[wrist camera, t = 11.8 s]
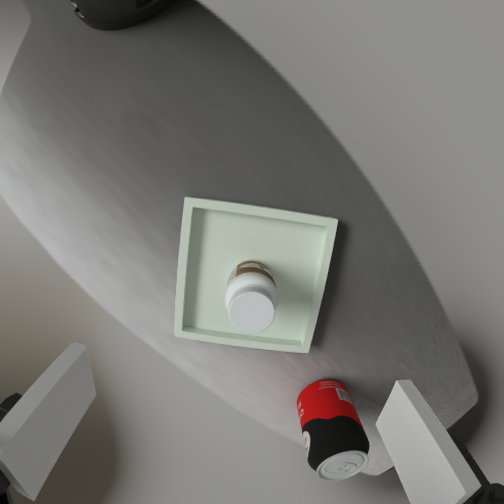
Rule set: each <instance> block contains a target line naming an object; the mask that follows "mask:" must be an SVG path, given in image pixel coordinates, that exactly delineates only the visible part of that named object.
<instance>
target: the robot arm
mask: <svg viewBox="0 0 504 504" xmlns="http://www.w3.org/2000/svg"><path fill="white" fill-rule="evenodd" d="M175 1H176V0H71V3H72V7H73V10H74V12H75V14H76V15H77V16H78V17H79V18H80V19H81V20H82V21H83V22H84V23H86V24H87V25H88V26H90V27H92V28H95V29H100V30H114V29H120V28H125V27H128V26H132V25H135V24H137V23H140V22H142V21H145V20H147V19H149V18H151V17H153V16H155V15H156V14H158V13H160V12H161V11H163V10H164V9H166V8H167V7H169V6H170V5H171V4H173V3H174V2H175ZM95 396H96V391H95V386H94V381H93V376H92V370H91V365H90V359H89V352H88V346H85V345H81V344H78V343H75V342H72V344H70V345H69V346H68V348H67V349H66V350H65V351H64V352H63V353H62V354H61V355H60V356H59V357H58V358H57V359H56V360H55V361H54V362H53V363H52V364H51V365H50V366H49V368H48V369H47V370H46V371H45V372H44V373H43V374H42V375H41V376H40V377H39V378H38V380H37V381H36V382H35V383H34V384H33V385H32V386H31V387H30V389H29V390H28V391H27V392H26V393H25V394H24V395H23V396H22V395H20V394H18V393H15V394H14V395H11V396H10V397H8V398H6V399H5V400H4V401H3V402H2V403H1V405H0V504H13V501H12V498H11V493H10V491H9V489H8V487H9V485H10V483H11V484H12V486H13V487H14V488H15V489H16V490H17V491H18V492H19V493H21V494H23V495H24V496H26V497H28V498H29V499H31V500H33V501H34V500H35V499H36V497H37V495H38V493H39V491H40V489H41V487H42V485H43V484H44V482H45V480H46V478H47V476H48V474H49V473H50V471H51V469H52V468H53V466H54V464H55V462H56V460H57V459H58V457H59V455H60V454H61V452H62V450H63V448H64V447H65V445H66V443H67V442H68V440H69V438H70V437H71V435H72V433H73V432H74V430H75V428H76V427H77V425H78V423H79V422H80V420H81V418H82V417H83V415H84V414H85V412H86V410H87V409H88V407H89V405H90V404H91V402H92V401H93V399H94V398H95ZM375 424H376V427H377V429H378V431H379V433H380V435H381V437H382V440H383V442H384V444H385V446H386V448H387V451H388V453H389V455H390V457H391V459H392V462H393V464H394V466H395V468H396V471H397V473H398V475H399V477H400V480H401V482H402V484H403V487H404V489H405V491H406V494H407V496H408V498H409V501H410V503H411V504H504V486H503V485H501V484H498V483H494V484H490V483H489V481H488V480H487V479H486V477H485V475H484V474H483V472H482V471H481V469H480V468H479V466H478V465H477V463H476V462H475V460H474V459H473V457H472V456H471V454H470V453H468V450H467V448H466V447H465V445H464V444H463V443H462V442H461V441H460V440H459V439H457V438H456V437H455V436H452V437H450V436H449V434H448V433H447V431H446V430H445V428H444V427H443V425H442V424H441V422H440V421H439V420H438V418H437V417H436V415H435V414H434V412H433V411H432V409H431V408H430V407H429V405H428V404H427V402H426V401H425V399H424V398H423V397H422V395H421V394H420V392H419V391H418V390H417V388H416V387H415V385H414V384H413V383H412V381H411V380H397V381H396V383H395V385H394V387H393V389H392V392H391V394H390V396H389V398H388V400H387V402H386V404H385V406H384V408H383V410H382V412H381V414H380V416H379V418H378V420H377V422H376V423H375Z"/></svg>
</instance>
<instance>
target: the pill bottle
mask: <svg viewBox="0 0 504 504" xmlns="http://www.w3.org/2000/svg"><path fill="white" fill-rule="evenodd" d="M277 304H278V292H277V288H276V284H275V280H274V276H273V274H272V271H271V270H270V268H269V267H268V266H267V265H266V264H264V263H263V262H261V261H258V260H252V259H249V260H244V261H242V262H240V263H238V264H236V265H235V266H234V267H233V269H232V270H231V272H230V274H229V277H228V282H227V287H226V291H225V306H226V309H227V311H228V315H229V319H230V321H231V323H232V325H233V326H234V327H235V328H236V329H238V330H239V331H241V332H244V333H249V334H254V333H259V332H262V331H264V330H266V329H267V328H268V327H269V326H270V325H271V324H272V322H273V320H274V317H275V310H276V308H277Z"/></svg>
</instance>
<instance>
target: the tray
mask: <svg viewBox="0 0 504 504" xmlns="http://www.w3.org/2000/svg"><path fill="white" fill-rule="evenodd" d="M337 224H338V219H336V218H333V217H328V216H322V215H316V214H310V213H304V212H298V211H292V210H285V209H279V208H272V207H266V206H259V205H252V204H245V203H238V202H231V201H223V200H216V199H208V198H200V197H191V196H188V197H185V201H184V209H183V218H182V228H181V238H180V248H179V260H178V272H177V286H176V302H175V321H174V336H175V337H181V338H187V339H193V340H199V341H205V342H212V343H218V344H226V345H233V346H241V347H249V348H257V349H267V350H276V351H287V352H299V353H308V352H309V349H310V345H311V341H312V337H313V333H314V330H315V326H316V322H317V318H318V313H319V309H320V305H321V301H322V297H323V292H324V288H325V283H326V279H327V274H328V270H329V265H330V260H331V255H332V250H333V245H334V240H335V235H336V229H337ZM249 259H252V260H258V261H261V262H263V263H264V264H266V265H267V266H268V267H269V268H270V270H271V271H272V274H273V276H274V280H275V284H276V288H277V292H278V304H277V308H276V310H275V317H274V320H273V322H272V324H271V325H270V326H269V327H268V328H267V329H266V330H264V331H262V332H259V333H254V334H249V333H244V332H241V331H239V330H238V329H236V328H235V327H234V326H233V325H232V323H231V321H230V319H229V315H228V311H227V309H226V306H225V291H226V287H227V282H228V277H229V274H230V272H231V270H232V269H233V267H234V266H235V265H236V264H238V263H240V262H242V261H244V260H249Z"/></svg>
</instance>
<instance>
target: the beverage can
mask: <svg viewBox="0 0 504 504" xmlns="http://www.w3.org/2000/svg"><path fill="white" fill-rule="evenodd" d="M297 408H298V413H299V418H300V423H301V428H302V433H303V438H304V443H305V449H306V453H307V458H308V463H309V465H310V466H311V468H313V469H314V470H315V471H316V472H317V476H318V477H319V478H321V479H323V480H327V481H336V480H342V479H345V478H348V477H351V476H353V475H355V474H357V473H358V472H360V471H361V470H362V469H363V468H364V467H365V466H366V465H367V463H368V460H369V458H368V455H367V454H368V451H369V441H368V438H367V436H366V434H365V431H364V429H363V427H362V424H361V422H360V420H359V417H358V415H357V413H356V410H355V408H354V406H353V403H352V401H351V399H350V396H349V394H348V392H347V390H346V388H345V386H344V385H342V384H341V383H340V382H338V381H334V380H320V381H317V382H314V383H312V384H310V385H308V386H307V387H306V388H305V389H304V390H303V391H302V392H301V393H300V395H299V397H298V399H297Z"/></svg>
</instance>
